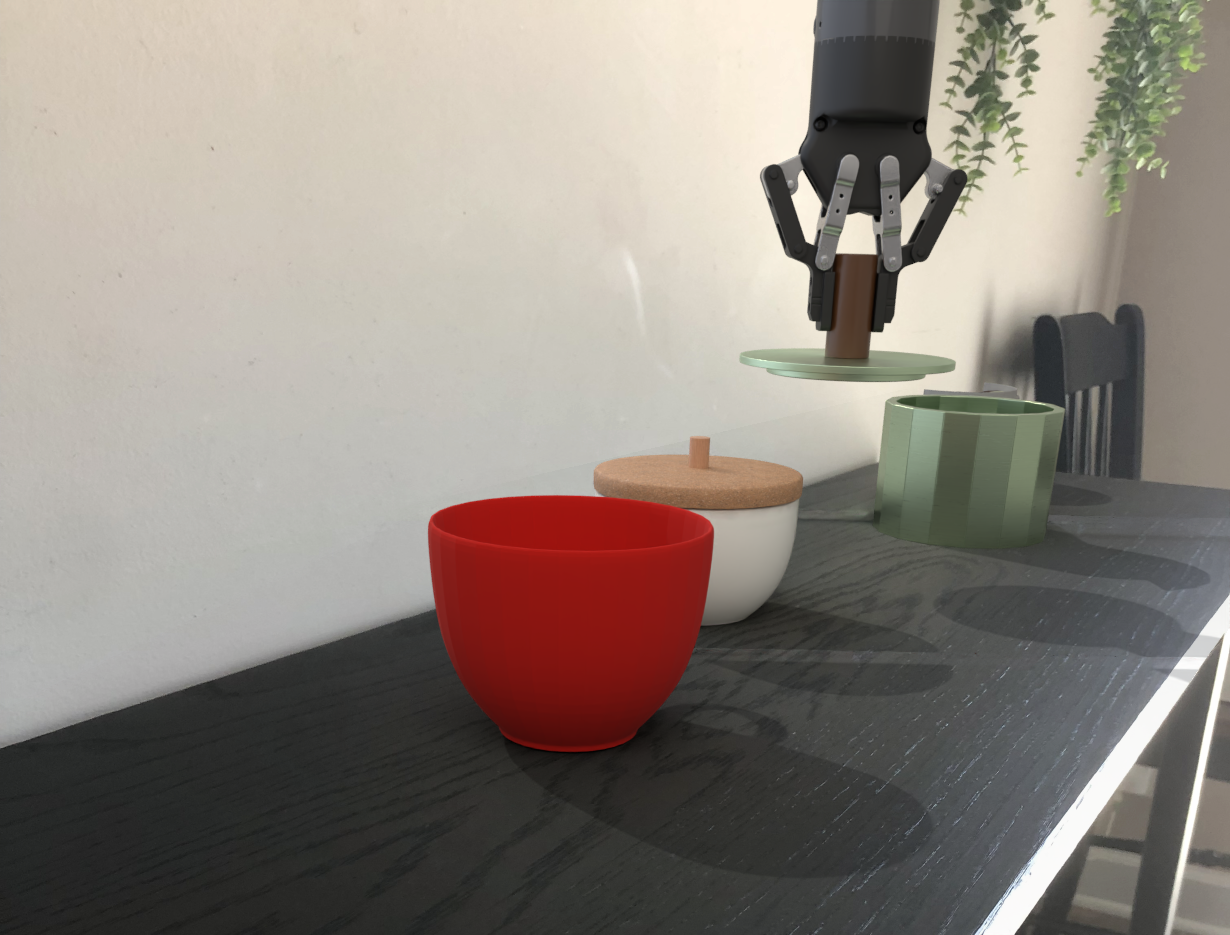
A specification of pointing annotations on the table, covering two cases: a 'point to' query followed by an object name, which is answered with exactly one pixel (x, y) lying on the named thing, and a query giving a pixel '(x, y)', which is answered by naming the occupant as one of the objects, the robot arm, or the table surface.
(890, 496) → the tin
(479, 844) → the table surface
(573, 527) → the ceramic cup
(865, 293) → the lid
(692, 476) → the lidded bowl
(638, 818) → the table surface
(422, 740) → the table surface
